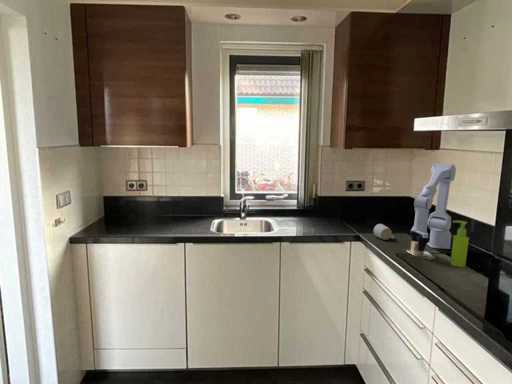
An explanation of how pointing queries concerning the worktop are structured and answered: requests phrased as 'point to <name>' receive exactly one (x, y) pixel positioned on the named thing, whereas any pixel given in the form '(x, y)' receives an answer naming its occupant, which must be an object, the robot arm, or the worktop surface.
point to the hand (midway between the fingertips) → (418, 248)
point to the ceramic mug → (383, 232)
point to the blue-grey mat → (424, 254)
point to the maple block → (415, 249)
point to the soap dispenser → (459, 246)
